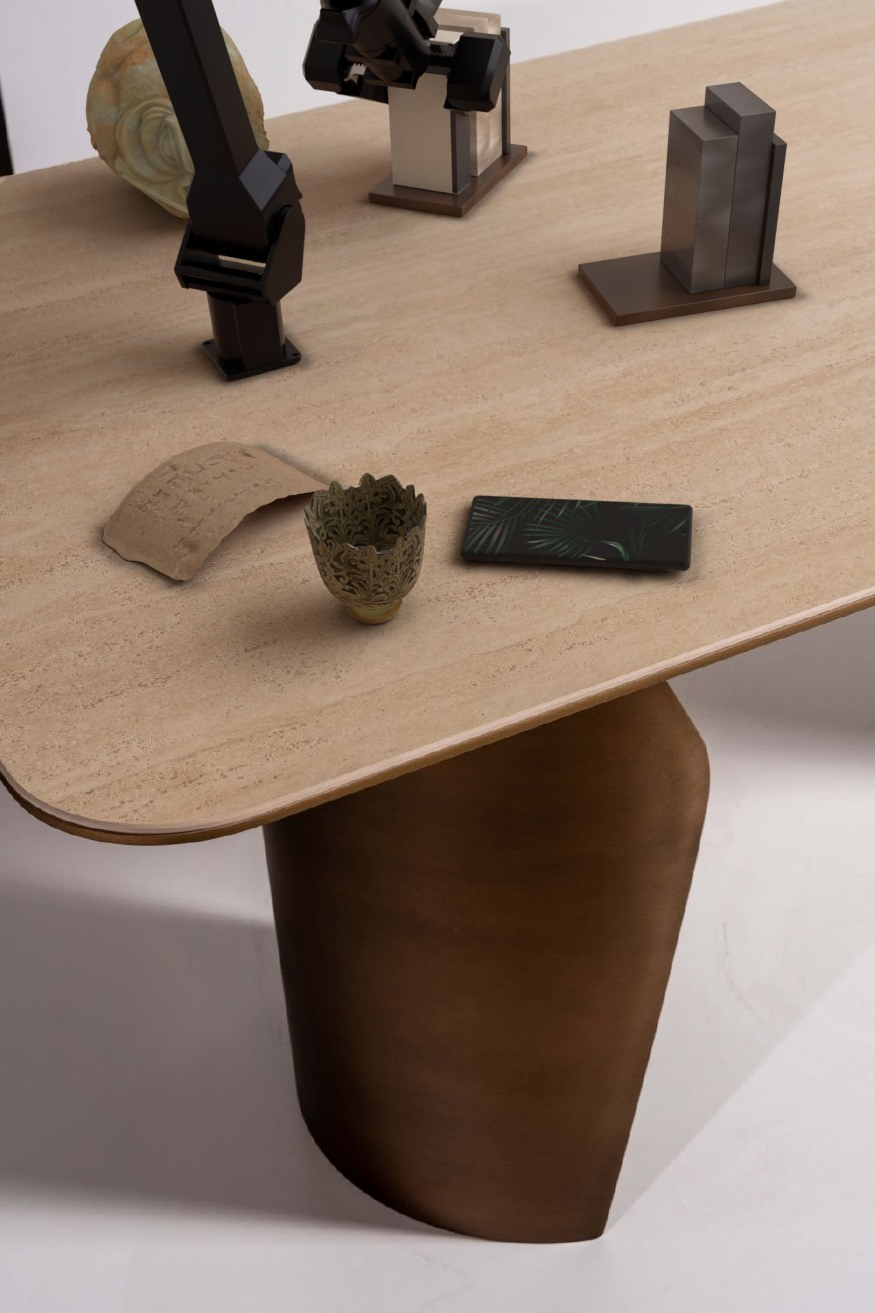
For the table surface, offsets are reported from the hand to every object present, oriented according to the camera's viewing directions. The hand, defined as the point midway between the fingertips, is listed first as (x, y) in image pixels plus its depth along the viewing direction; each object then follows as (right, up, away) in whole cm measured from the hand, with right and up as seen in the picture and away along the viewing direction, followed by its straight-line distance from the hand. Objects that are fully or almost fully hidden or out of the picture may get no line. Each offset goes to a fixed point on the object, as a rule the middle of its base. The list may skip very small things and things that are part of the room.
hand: (435, 106), depth 134 cm
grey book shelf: (+22, -20, -12) cm, 32 cm away
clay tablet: (-15, -42, -35) cm, 57 cm away
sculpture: (-24, -7, +6) cm, 26 cm away
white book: (0, -6, +4) cm, 7 cm away
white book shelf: (+1, -4, +7) cm, 8 cm away
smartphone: (+10, -44, -39) cm, 60 cm away
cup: (-4, -49, -44) cm, 66 cm away
